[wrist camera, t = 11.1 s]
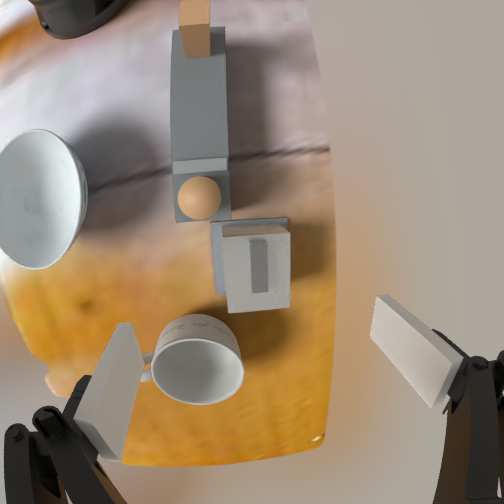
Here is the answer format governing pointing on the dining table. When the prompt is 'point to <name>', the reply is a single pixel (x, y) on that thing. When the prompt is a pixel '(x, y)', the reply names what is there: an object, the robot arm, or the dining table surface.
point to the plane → (199, 117)
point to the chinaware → (40, 198)
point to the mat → (218, 246)
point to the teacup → (196, 360)
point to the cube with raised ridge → (256, 267)
